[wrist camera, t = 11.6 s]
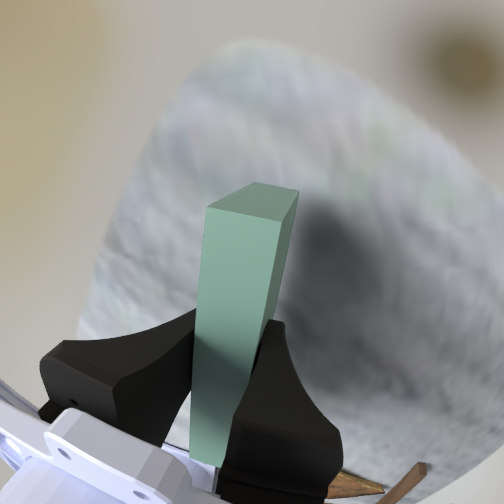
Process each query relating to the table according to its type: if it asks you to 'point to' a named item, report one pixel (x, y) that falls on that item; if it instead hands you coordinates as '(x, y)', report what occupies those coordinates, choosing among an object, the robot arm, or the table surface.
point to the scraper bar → (235, 306)
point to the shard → (352, 487)
